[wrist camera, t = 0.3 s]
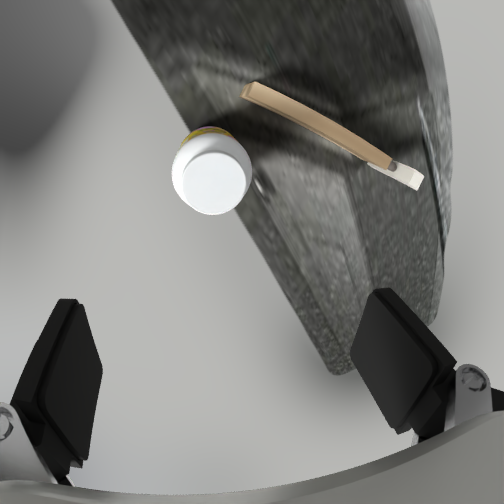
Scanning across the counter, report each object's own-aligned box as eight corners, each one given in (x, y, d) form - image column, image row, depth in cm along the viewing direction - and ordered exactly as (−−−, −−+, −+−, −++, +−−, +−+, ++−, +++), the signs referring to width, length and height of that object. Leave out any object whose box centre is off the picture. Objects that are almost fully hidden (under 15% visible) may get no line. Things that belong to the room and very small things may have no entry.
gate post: (373, 152, 35) (416, 169, 27) (381, 157, 36) (424, 176, 28) (367, 164, 36) (408, 184, 28) (375, 169, 36) (417, 190, 28)
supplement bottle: (249, 143, 32) (278, 167, 21) (220, 192, 35) (232, 242, 24) (196, 115, 30) (195, 122, 19) (168, 167, 32) (152, 205, 21)
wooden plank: (245, 85, 29) (255, 81, 24) (371, 152, 35) (399, 163, 30) (239, 96, 30) (248, 95, 24) (366, 162, 35) (393, 175, 30)
